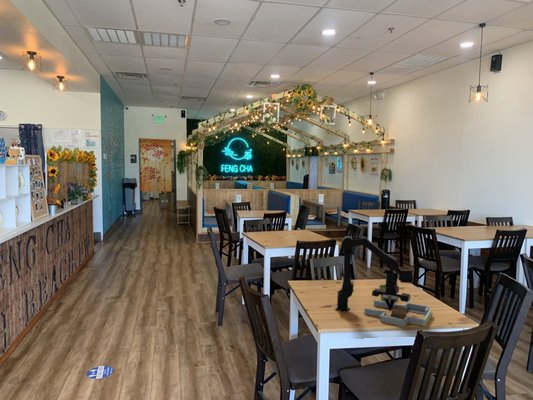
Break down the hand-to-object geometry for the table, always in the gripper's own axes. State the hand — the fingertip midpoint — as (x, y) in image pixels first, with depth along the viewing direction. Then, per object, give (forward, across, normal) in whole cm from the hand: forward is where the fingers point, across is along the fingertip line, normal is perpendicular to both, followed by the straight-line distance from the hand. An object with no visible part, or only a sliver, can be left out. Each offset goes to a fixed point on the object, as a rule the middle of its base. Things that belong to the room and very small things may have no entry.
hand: (390, 310), depth 208 cm
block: (+1, -5, +1) cm, 5 cm away
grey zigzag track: (+1, -4, 0) cm, 4 cm away
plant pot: (+2, +7, -19) cm, 20 cm away
